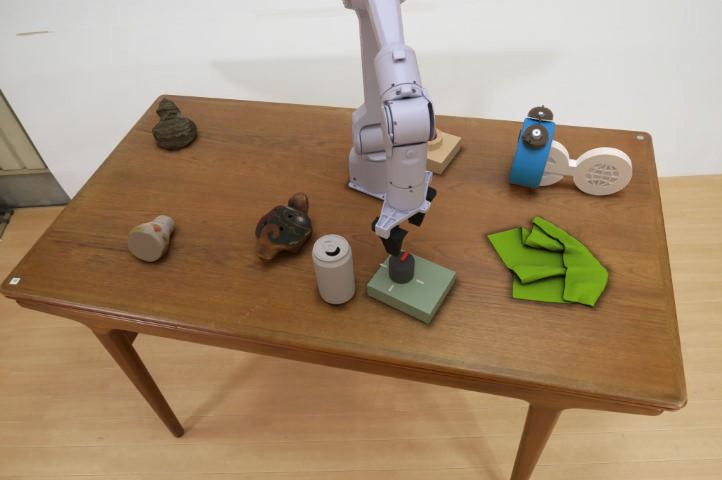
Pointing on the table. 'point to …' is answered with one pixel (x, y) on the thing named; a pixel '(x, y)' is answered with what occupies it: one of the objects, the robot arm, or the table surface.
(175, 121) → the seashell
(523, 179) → the alarm clock
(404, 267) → the dial
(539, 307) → the table surface
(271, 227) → the decorative turtle
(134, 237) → the beige ceramic vase
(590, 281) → the cloth
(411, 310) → the dial panel
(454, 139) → the button housing
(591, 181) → the white double disc plate
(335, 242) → the beverage can
